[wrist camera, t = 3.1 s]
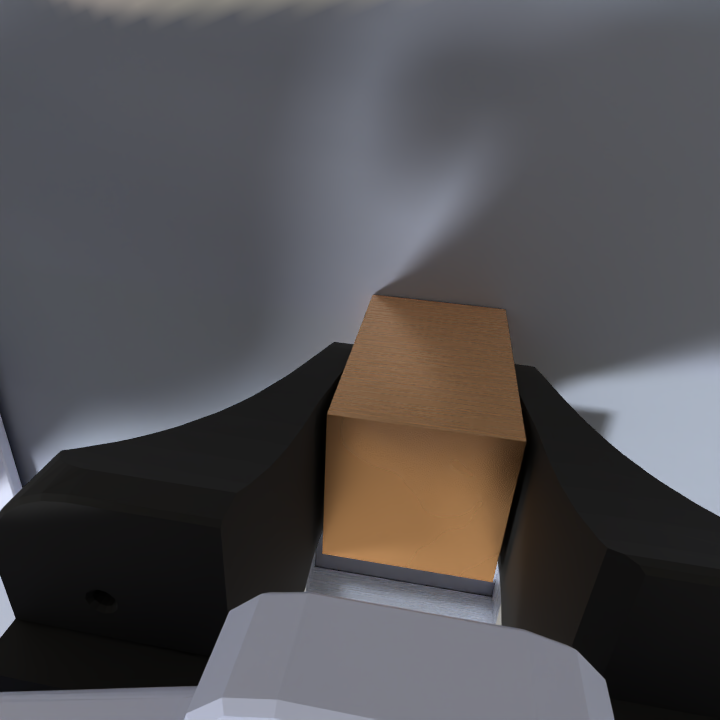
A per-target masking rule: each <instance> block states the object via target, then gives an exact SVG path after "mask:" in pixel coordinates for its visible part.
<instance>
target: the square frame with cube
mask: <svg viewBox="0 0 720 720" xmlns="http://www.w3.org/2000/svg"><path fill="white" fill-rule="evenodd" d="M525 445H526V436H525V430H524V424H523V417H522V411H521V405H520V398H519V392H518V386H517V379H516V373H515V366H514V360H513V354H512V347H511V341H510V335H509V328H508V322H507V316H506V310H505V309H497V308H488V307H479V306H470V305H461V304H452V303H443V302H434V301H426V300H417V299H408V298H399V297H390V296H381V295H373V296H372V298H371V301H370V303H369V306H368V309H367V311H366V314H365V316H364V319H363V322H362V324H361V327H360V329H359V332H358V335H357V337H356V340H355V342H354V345H353V348H352V350H351V353H350V355H349V358H348V361H347V363H346V366H345V368H344V371H343V374H342V376H341V379H340V381H339V384H338V387H337V389H336V392H335V394H334V397H333V400H332V402H331V405H330V407H329V410H328V413H327V427H326V458H325V489H324V520H323V551H322V554H327V555H333V556H339V557H345V558H351V559H357V560H363V561H369V562H375V563H381V564H387V565H393V566H399V567H405V568H411V569H417V570H423V571H429V572H435V573H441V574H447V575H453V576H459V577H465V578H471V579H477V580H483V581H489V582H493V578H494V574H495V570H496V566H497V561H498V557H499V553H500V549H501V545H502V541H503V537H504V532H505V528H506V524H507V520H508V516H509V512H510V508H511V503H512V499H513V495H514V491H515V487H516V483H517V478H518V474H519V470H520V466H521V462H522V458H523V454H524V449H525ZM304 592H313V593H319V594H325V595H331V596H336V597H342V598H348V599H353V600H359V601H365V602H370V603H376V604H382V605H387V606H393V607H399V608H404V609H410V610H416V611H421V612H427V613H433V614H439V615H444V616H450V617H456V618H461V619H467V620H473V621H478V622H484V623H490V624H495V625H501V588H500V576H499V570H498V574H497V578H496V582H495V586H494V590H493V594H492V597H488V596H482V595H476V594H471V593H465V592H459V591H453V590H447V589H441V588H435V587H430V586H424V585H418V584H412V583H406V582H400V581H394V580H388V579H383V578H377V577H371V576H365V575H359V574H353V573H347V572H342V571H336V570H330V569H324V568H318V567H315V554H314V557H313V560H312V564H311V568H310V572H309V575H308V579H307V583H306V587H305V591H304Z"/></svg>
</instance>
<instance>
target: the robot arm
mask: <svg viewBox="0 0 720 720" xmlns="http://www.w3.org/2000/svg"><path fill="white" fill-rule="evenodd" d="M353 345H354V344H346V343H338V342H334V343H332V344H331V345H329V346H328V347H326V348H325V349H324V350H322V351H321V352H320V353H318V354H317V355H316V356H314V357H313V358H311V359H310V360H309V361H307V362H306V363H305V364H303V365H302V366H300V367H299V368H297V369H296V370H295V371H293V372H292V373H290V374H289V375H287V376H286V377H284V378H282V379H281V380H279V381H277V382H276V383H274V384H272V385H271V386H269V387H267V388H266V389H264V390H262V391H261V392H259V393H257V394H255V395H254V396H252V397H250V398H248V399H246V400H244V401H242V402H240V403H237V404H235V405H233V406H231V407H229V408H226V409H224V410H222V411H220V412H217V413H215V414H212V415H209V416H206V417H203V418H201V419H198V420H195V421H192V422H189V423H187V424H184V425H181V426H178V427H175V428H171V429H168V430H164V431H161V432H157V433H153V434H149V435H145V436H141V437H137V438H133V439H128V440H123V441H118V442H113V443H107V444H101V445H95V446H89V447H83V448H77V449H70V450H62V451H60V452H59V453H58V454H57V455H56V456H55V457H54V458H53V459H52V460H51V461H50V462H49V463H48V464H47V465H46V466H45V467H44V468H43V469H42V470H41V471H40V472H38V473H37V474H36V475H35V476H34V477H33V478H32V479H31V480H30V481H29V482H28V483H27V484H26V485H25V486H24V487H23V488H22V486H21V482H20V479H19V475H18V472H17V469H16V465H15V462H14V459H13V455H12V452H11V449H10V445H9V442H8V439H7V435H6V432H5V429H4V425H3V422H2V419H1V415H0V576H1V579H2V581H3V584H4V587H5V590H6V593H7V595H8V598H9V601H10V604H11V607H12V609H13V612H14V615H15V618H16V619H15V620H14V621H13V623H12V624H11V625H10V627H9V628H8V629H7V630H6V632H5V633H4V634H3V635H2V637H1V638H0V720H720V517H719V516H717V515H715V514H714V513H712V512H710V511H708V510H707V509H705V508H703V507H701V506H699V505H698V504H696V503H694V502H692V501H691V500H689V499H688V498H686V497H684V496H683V495H681V494H680V493H678V492H676V491H675V490H673V489H672V488H670V487H668V486H667V485H665V484H664V483H662V482H661V481H659V480H658V479H656V478H655V477H653V476H652V475H650V474H649V473H647V472H646V471H645V470H643V469H642V468H641V467H639V466H638V465H637V464H635V463H634V462H633V461H631V460H630V459H629V458H627V457H626V456H625V455H623V454H622V453H621V452H620V451H618V450H617V449H616V448H615V447H613V446H612V445H611V444H610V443H609V442H608V441H607V440H605V439H604V438H603V437H602V436H601V435H600V434H599V433H598V432H597V431H595V430H594V429H593V428H592V427H591V426H590V425H589V424H588V423H587V422H586V421H585V420H584V419H583V418H582V417H581V416H580V415H579V414H578V413H577V412H576V411H575V410H574V409H573V408H572V407H571V406H570V405H569V404H568V403H567V402H566V401H565V400H564V399H563V398H562V396H561V395H560V394H559V393H558V392H557V391H556V390H555V389H554V388H553V387H552V385H551V384H550V383H549V382H548V381H547V380H546V379H545V378H544V376H543V375H542V374H541V373H540V372H539V371H538V370H537V369H536V368H535V367H532V366H524V365H516V364H514V366H515V373H516V379H517V386H518V392H519V398H520V405H521V411H522V417H523V424H524V430H525V436H526V445H525V449H524V454H523V458H522V462H521V466H520V470H519V474H518V478H517V483H516V487H515V491H514V495H513V499H512V503H511V508H510V512H509V516H508V520H507V524H506V528H505V532H504V537H503V541H502V545H501V549H500V553H499V557H498V566H499V576H500V588H501V625H495V624H490V623H484V622H478V621H473V620H467V619H461V618H456V617H450V616H444V615H439V614H433V613H427V612H421V611H416V610H410V609H404V608H399V607H393V606H387V605H382V604H376V603H370V602H365V601H359V600H353V599H348V598H342V597H336V596H331V595H325V594H319V593H313V592H304V591H305V587H306V583H307V579H308V575H309V572H310V568H311V564H312V560H313V557H314V554H315V551H316V548H317V544H318V541H319V539H320V536H321V533H322V531H323V520H324V489H325V458H326V427H327V413H328V410H329V407H330V405H331V402H332V400H333V397H334V394H335V392H336V389H337V387H338V384H339V381H340V379H341V376H342V374H343V371H344V368H345V366H346V363H347V361H348V358H349V355H350V353H351V350H352V348H353Z"/></svg>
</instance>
